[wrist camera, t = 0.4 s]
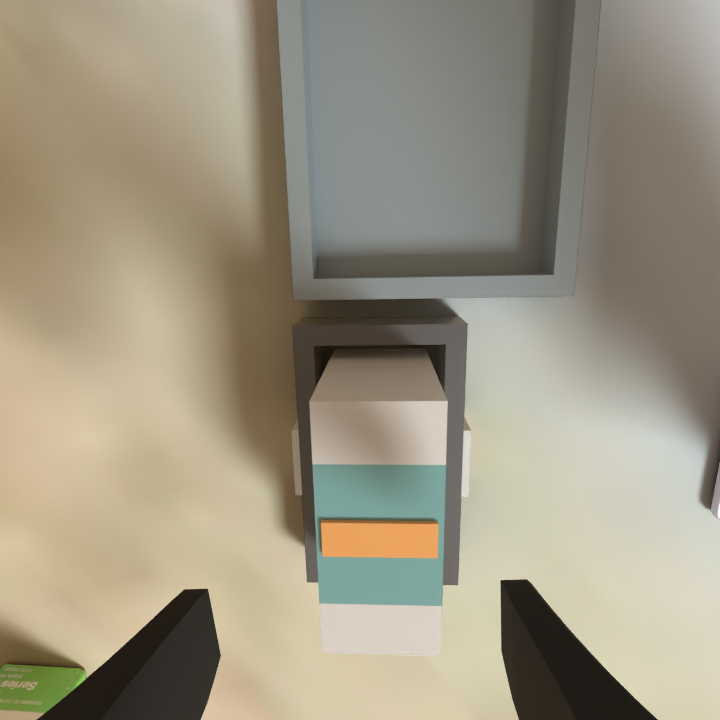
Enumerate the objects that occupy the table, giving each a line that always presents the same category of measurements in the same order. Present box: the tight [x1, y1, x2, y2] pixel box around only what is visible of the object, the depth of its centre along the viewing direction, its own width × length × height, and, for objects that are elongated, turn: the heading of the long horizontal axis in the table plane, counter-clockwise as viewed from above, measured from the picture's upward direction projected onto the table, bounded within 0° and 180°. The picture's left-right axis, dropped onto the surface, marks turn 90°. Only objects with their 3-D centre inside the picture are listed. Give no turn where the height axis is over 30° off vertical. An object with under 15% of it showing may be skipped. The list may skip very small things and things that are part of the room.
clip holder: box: [291, 316, 471, 585], centre depth 20 cm, size 7×12×2 cm, turn 1°
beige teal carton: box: [309, 348, 448, 656], centre depth 17 cm, size 4×9×7 cm, turn 1°
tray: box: [277, 0, 601, 301], centre depth 17 cm, size 11×14×2 cm
